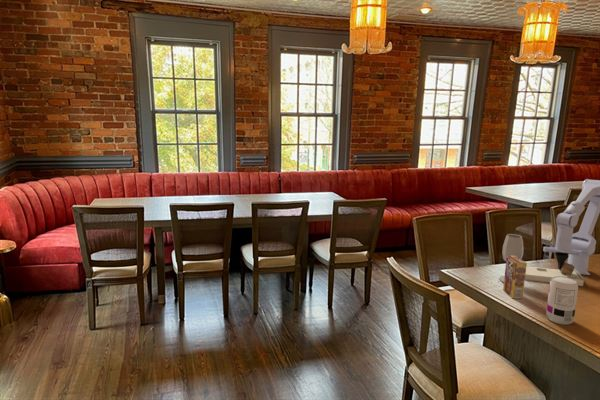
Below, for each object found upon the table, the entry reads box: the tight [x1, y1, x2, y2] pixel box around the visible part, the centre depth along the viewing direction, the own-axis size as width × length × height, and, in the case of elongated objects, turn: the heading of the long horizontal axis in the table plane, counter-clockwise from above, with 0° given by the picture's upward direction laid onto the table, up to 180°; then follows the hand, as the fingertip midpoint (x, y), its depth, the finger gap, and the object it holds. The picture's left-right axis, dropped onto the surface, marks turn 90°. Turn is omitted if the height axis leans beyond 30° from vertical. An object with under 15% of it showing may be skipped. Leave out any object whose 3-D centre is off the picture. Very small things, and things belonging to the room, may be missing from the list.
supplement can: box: [545, 276, 579, 326], centre depth 138 cm, size 8×8×15 cm
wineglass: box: [498, 233, 525, 284], centre depth 173 cm, size 9×9×21 cm
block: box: [558, 261, 575, 275], centre depth 177 cm, size 4×4×4 cm
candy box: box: [502, 256, 528, 300], centre depth 160 cm, size 9×4×15 cm, turn 176°
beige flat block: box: [525, 266, 585, 287], centre depth 178 cm, size 12×23×4 cm, turn 70°
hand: (559, 268), depth 179 cm, fingers closed, pressing on block
